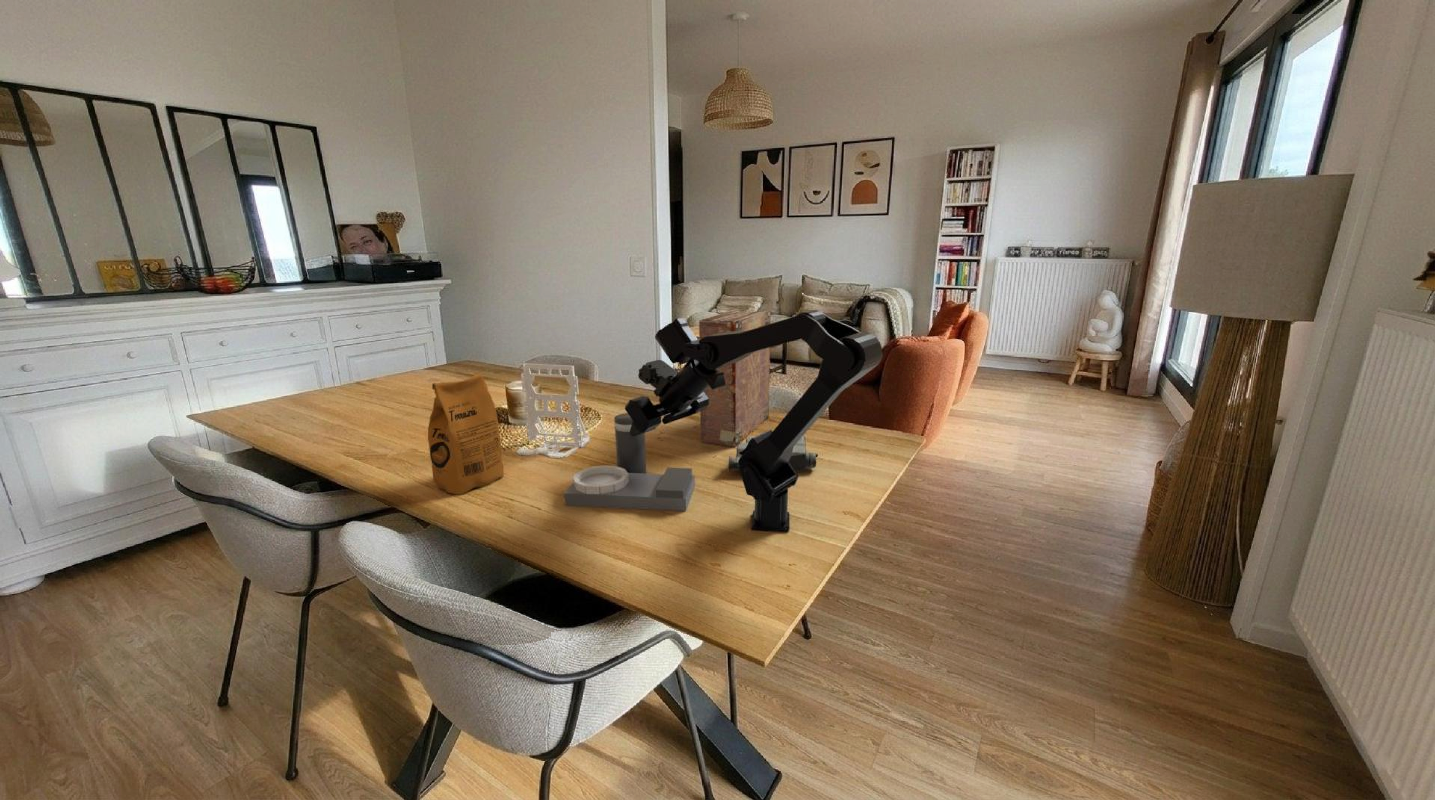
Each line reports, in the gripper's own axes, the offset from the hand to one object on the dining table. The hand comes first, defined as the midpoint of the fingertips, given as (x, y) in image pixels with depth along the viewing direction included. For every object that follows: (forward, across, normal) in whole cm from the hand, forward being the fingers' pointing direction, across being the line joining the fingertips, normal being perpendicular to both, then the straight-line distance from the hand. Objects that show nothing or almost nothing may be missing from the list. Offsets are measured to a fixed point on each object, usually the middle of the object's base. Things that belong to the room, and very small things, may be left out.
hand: (647, 428), depth 114 cm
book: (+12, -38, +5) cm, 40 cm away
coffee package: (+30, +22, -13) cm, 39 cm away
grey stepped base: (+7, +7, +10) cm, 14 cm away
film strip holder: (+32, -2, -15) cm, 35 cm away
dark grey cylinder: (+12, 0, +5) cm, 13 cm away
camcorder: (-2, -24, +19) cm, 31 cm away
